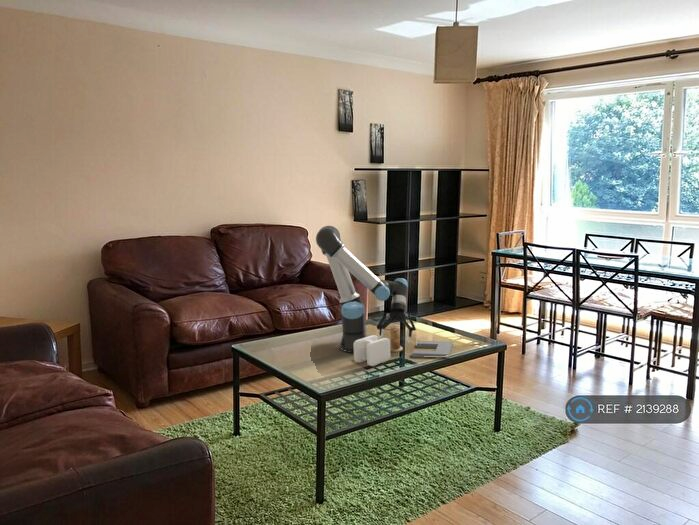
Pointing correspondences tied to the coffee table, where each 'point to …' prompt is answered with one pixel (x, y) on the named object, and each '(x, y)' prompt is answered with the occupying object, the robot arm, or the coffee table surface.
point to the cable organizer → (372, 350)
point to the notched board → (441, 347)
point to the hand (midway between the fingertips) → (394, 341)
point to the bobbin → (395, 339)
